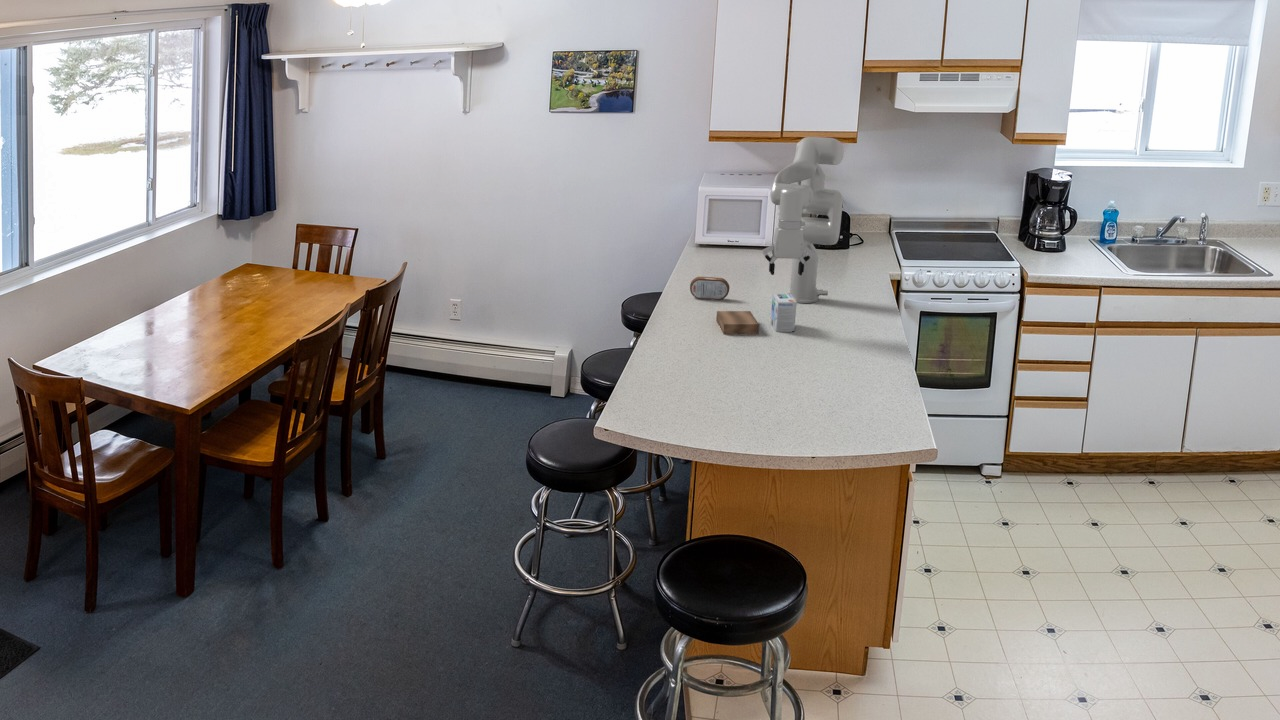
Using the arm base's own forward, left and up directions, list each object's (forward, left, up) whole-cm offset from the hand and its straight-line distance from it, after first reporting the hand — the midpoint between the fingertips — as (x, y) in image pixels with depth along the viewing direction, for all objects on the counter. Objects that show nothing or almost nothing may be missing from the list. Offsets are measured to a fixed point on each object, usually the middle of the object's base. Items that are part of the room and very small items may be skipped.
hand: (786, 274), depth 354 cm
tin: (+21, -37, -19) cm, 47 cm away
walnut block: (+16, 0, -20) cm, 25 cm away
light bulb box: (0, 0, -19) cm, 19 cm away
